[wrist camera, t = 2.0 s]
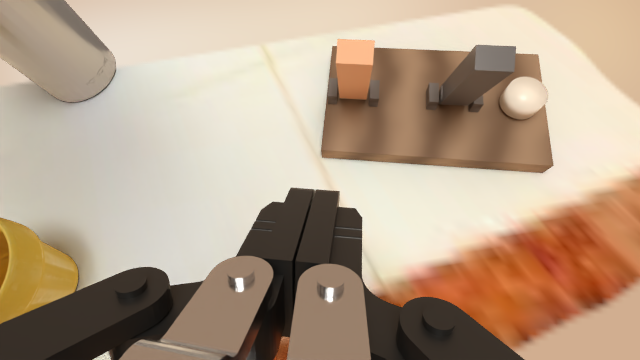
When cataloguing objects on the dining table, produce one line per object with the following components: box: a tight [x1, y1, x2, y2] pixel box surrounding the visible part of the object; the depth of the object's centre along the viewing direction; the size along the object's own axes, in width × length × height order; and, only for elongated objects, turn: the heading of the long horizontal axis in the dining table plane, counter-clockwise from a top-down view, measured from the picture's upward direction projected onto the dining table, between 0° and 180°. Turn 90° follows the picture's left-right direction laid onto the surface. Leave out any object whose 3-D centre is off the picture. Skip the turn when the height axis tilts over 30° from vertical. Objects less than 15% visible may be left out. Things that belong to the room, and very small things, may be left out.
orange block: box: [336, 39, 375, 100], centre depth 34 cm, size 3×2×12 cm, turn 84°
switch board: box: [321, 46, 553, 173], centre depth 39 cm, size 24×14×4 cm, turn 84°
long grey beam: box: [439, 45, 516, 106], centre depth 33 cm, size 3×2×12 cm, turn 84°
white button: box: [499, 77, 548, 119], centre depth 37 cm, size 4×4×2 cm
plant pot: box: [0, 218, 78, 324], centre depth 32 cm, size 10×10×10 cm
